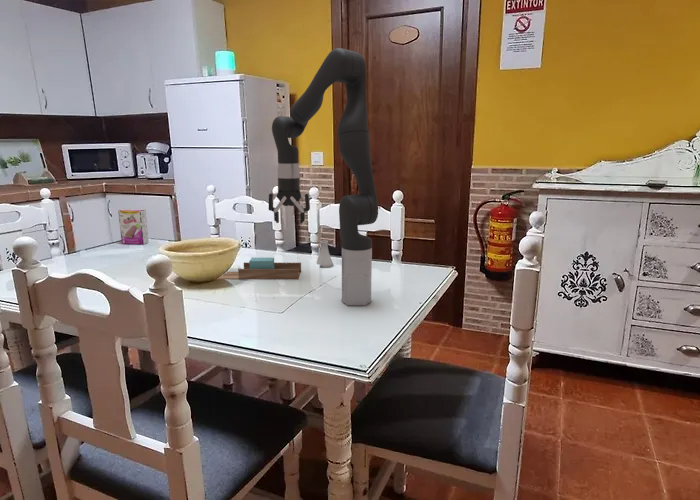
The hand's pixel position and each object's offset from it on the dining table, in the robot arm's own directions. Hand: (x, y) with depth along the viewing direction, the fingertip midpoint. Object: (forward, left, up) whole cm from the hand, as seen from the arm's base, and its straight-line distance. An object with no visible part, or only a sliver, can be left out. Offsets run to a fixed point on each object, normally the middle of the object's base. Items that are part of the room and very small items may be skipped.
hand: (289, 222), depth 169 cm
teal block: (-1, +10, -19) cm, 22 cm away
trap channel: (-1, +12, -20) cm, 24 cm away
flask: (+17, -11, -21) cm, 29 cm away
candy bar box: (+56, +81, -21) cm, 101 cm away
